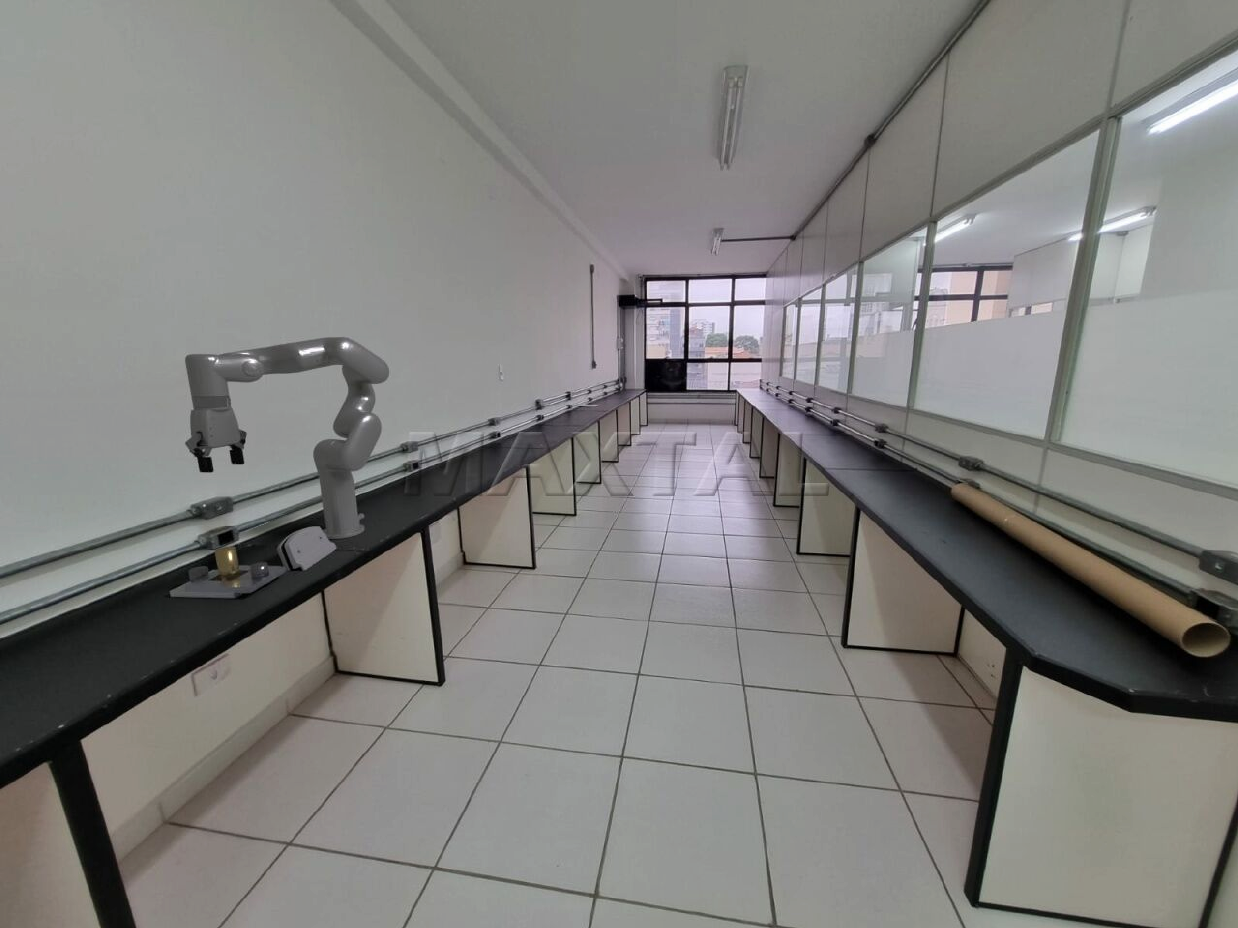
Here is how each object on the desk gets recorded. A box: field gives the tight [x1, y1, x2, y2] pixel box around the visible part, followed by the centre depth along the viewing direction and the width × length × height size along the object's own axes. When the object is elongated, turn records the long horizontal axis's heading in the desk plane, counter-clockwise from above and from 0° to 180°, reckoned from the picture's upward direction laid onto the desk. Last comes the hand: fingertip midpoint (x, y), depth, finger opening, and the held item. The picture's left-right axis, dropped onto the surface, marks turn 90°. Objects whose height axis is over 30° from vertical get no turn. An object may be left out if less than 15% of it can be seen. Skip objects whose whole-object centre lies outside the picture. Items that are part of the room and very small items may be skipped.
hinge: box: [276, 525, 338, 572], centre depth 137 cm, size 17×5×10 cm, turn 2°
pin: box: [214, 545, 240, 581], centre depth 120 cm, size 4×4×10 cm
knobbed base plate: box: [169, 561, 287, 599], centre depth 120 cm, size 12×20×6 cm, turn 88°
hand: (223, 468), depth 126 cm, fingers open, 9 cm apart
